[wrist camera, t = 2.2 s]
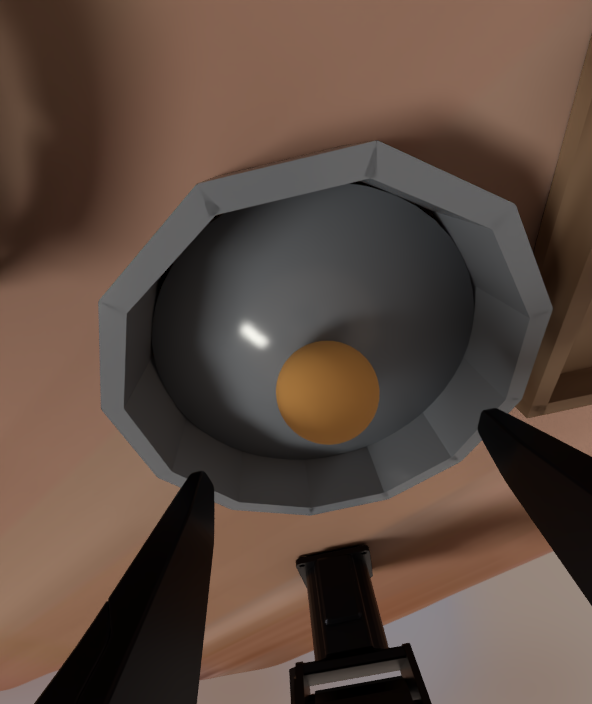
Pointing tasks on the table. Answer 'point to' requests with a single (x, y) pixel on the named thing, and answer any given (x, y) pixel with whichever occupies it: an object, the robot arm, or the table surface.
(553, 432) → the table surface
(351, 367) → the ball
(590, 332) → the tray
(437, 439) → the bowl
